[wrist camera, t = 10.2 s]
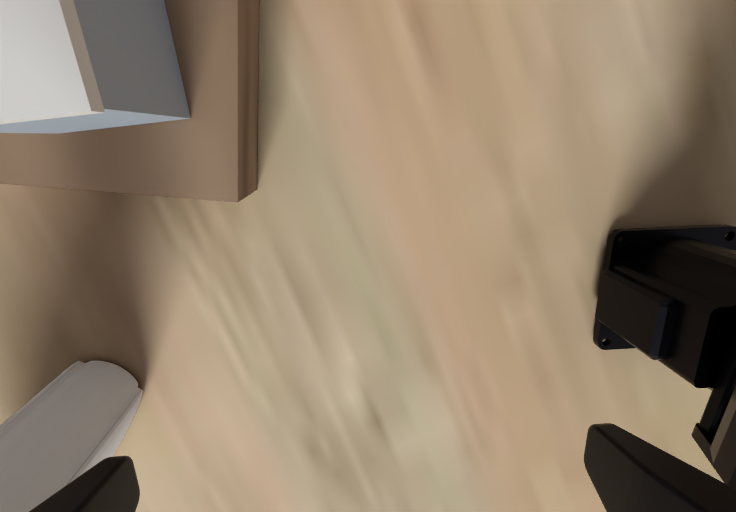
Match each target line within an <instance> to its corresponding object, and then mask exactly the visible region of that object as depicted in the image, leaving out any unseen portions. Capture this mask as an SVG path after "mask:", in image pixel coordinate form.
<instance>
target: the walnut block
mask: <svg viewBox="0 0 736 512" xmlns="http://www.w3.org/2000/svg"><path fill="white" fill-rule="evenodd" d="M164 2H165V6H166V11H167V15H168V19H169V24H170V28H171V33H172V37H173V42H174V46H175V51H176V55H177V59H178V64H179V68H180V73H181V77H182V82H183V86H184V91H185V95H186V99H187V104H188V108H189V113H190V117H191V119H182V120H174V121H165V122H156V123H147V124H138V125H130V126H121V127H112V128H103V129H94V130H86V131H77V132H68V133H59V134H56V133H0V184H12V185H25V186H38V187H51V188H63V189H76V190H89V191H102V192H114V193H127V194H140V195H153V196H165V197H178V198H191V199H204V200H216V201H229V202H239V201H240V200H242V199H243V198H245V197H247V196H248V195H250V194H251V193H253V192H254V191H256V190H257V159H258V82H259V6H260V0H164Z"/></svg>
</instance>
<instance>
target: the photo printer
mask: <svg viewBox="0 0 736 512" xmlns="http://www.w3.org/2000/svg"><path fill="white" fill-rule="evenodd" d="M142 393H143V390H142V389H139V388H138V382H137V381H136V379H135V378H134V377H133V376H132V375H131V374H130V373H129V372H128V371H126V370H125V369H123V368H121V367H120V366H118V365H115V364H113V363H109V362H105V361H89V362H87V363H83V362H81V361H77V362H75V363H74V364H72V365H71V366H69V367H68V368H67V369H65V370H64V371H63V372H62V373H61V374H60V375H58V376H57V377H56V378H55V379H54V380H53V381H51V382H50V383H49V384H48V385H47V386H46V387H44V388H43V389H42V390H41V391H40V392H39V393H37V394H36V395H35V396H34V397H33V398H32V399H31V400H29V401H28V402H27V403H26V404H25V405H24V406H22V407H21V408H20V409H19V410H18V411H17V412H15V413H14V414H13V415H12V416H11V417H10V418H9V419H7V420H6V421H5V422H4V423H3V424H1V425H0V512H29V511H30V510H32V509H33V508H35V507H36V506H38V505H39V504H40V503H42V502H43V501H45V500H46V499H47V498H49V497H50V496H52V495H53V494H55V493H56V492H57V491H59V490H60V489H62V488H63V487H65V486H66V485H67V484H69V483H70V482H72V481H73V480H75V479H76V478H77V477H79V476H80V475H82V474H83V473H85V472H86V471H87V470H89V469H90V468H92V467H93V466H95V465H96V464H97V463H99V462H100V461H102V460H103V459H105V458H108V457H113V455H114V453H115V452H116V450H117V448H118V446H119V444H120V442H121V441H122V439H123V437H124V435H125V433H126V431H127V429H128V427H129V425H130V423H131V421H132V419H133V417H134V415H135V413H136V411H137V409H138V406H139V403H140V400H141V397H142Z"/></svg>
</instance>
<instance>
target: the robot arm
mask: <svg viewBox="0 0 736 512" xmlns="http://www.w3.org/2000/svg"><path fill="white" fill-rule="evenodd" d="M727 233H728V234H727ZM726 234H727V236H726V237H725V235H726ZM621 236H623V239H622V241H621V242H620V243H618V240H619V238H620V237H621ZM606 337H607V338H606ZM604 338H606V340H605V341H603V339H604ZM602 341H603V342H602ZM593 342H594V343H595V344H596V345H597V346H598V347H599V348H601V349H603V350H611V349H628V348H637V349H638V350H640V351H641V352H643V353H644V354H645V355H647V356H648V357H649V358H651V359H653V360H658V361H660V362H661V363H663V364H664V365H665V366H667V367H668V368H670V369H671V370H672V371H674V372H675V373H677V374H678V375H679V376H681V377H682V378H684V379H685V380H686V381H688V382H689V383H691V384H692V385H693V386H695V387H696V388H709V389H710V390H712V392H711V395H710V398H709V400H708V403H707V405H706V408H705V410H704V413H703V415H702V418H701V421H700V423H696V425H695V427H694V430H693V433H692V437H693V438H694V440H695V441H696V443H697V444H698V445H699V447H700V448H701V450H702V451H703V453H704V454H705V456H706V457H707V458H708V460H709V461H710V463H711V464H712V466H713V467H714V469H715V470H716V471H717V473H718V474H719V476H720V477H721V479H722V480H723V481H724V483H723V482H721V481H719V480H717V479H715V478H713V477H712V476H710V475H708V474H706V473H704V472H702V471H700V470H698V469H697V468H695V467H693V466H691V465H689V464H687V463H685V462H683V461H682V460H680V459H678V458H676V457H674V456H672V455H670V454H668V453H667V452H665V451H663V450H661V449H659V448H657V447H655V446H653V445H652V444H650V443H648V442H646V441H644V440H642V439H640V438H638V437H637V436H635V435H633V434H631V433H629V432H627V431H625V430H623V429H622V428H620V427H618V426H616V425H614V424H611V423H604V424H593V425H591V426H590V427H589V429H588V433H587V440H586V446H585V453H584V463H585V467H586V470H587V472H588V474H589V476H590V478H591V481H592V483H593V485H594V487H595V489H596V491H597V493H598V495H599V497H600V499H601V501H602V503H603V505H604V507H605V509H606V511H607V512H736V227H734V226H730V225H703V226H679V227H655V228H631V229H617V230H614V231H613V232H612V233H611V234H610V235H609V238H608V243H607V249H606V256H605V263H604V269H603V273H602V275H601V282H600V289H599V296H598V302H597V309H596V323H595V330H594V336H593ZM139 496H140V490H139V485H138V480H137V476H136V472H135V468H134V464H133V461H132V459H131V458H130V457H129V456H116V457H108V458H105V459H103V460H102V461H100V462H99V463H97V464H96V465H95V466H93V467H92V468H90V469H89V470H87V471H86V472H85V473H83V474H82V475H80V476H79V477H77V478H76V479H75V480H73V481H72V482H70V483H69V484H67V485H66V486H65V487H63V488H62V489H60V490H59V491H57V492H56V493H55V494H53V495H52V496H50V497H49V498H47V499H46V500H45V501H43V502H42V503H40V504H39V505H38V506H36V507H35V508H33V509H32V510H30V511H29V512H135V511H136V508H137V505H138V501H139Z"/></svg>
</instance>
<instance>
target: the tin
mask: <svg viewBox="0 0 736 512" xmlns="http://www.w3.org/2000/svg"><path fill="white" fill-rule="evenodd" d="M182 119H191V117H190V113H189V108H188V104H187V99H186V95H185V91H184V86H183V82H182V77H181V73H180V68H179V64H178V59H177V55H176V51H175V46H174V42H173V37H172V33H171V28H170V24H169V19H168V15H167V11H166V6H165V2H164V0H0V133H56V134H59V133H68V132H77V131H86V130H94V129H103V128H112V127H121V126H130V125H138V124H147V123H156V122H165V121H174V120H182Z"/></svg>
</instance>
